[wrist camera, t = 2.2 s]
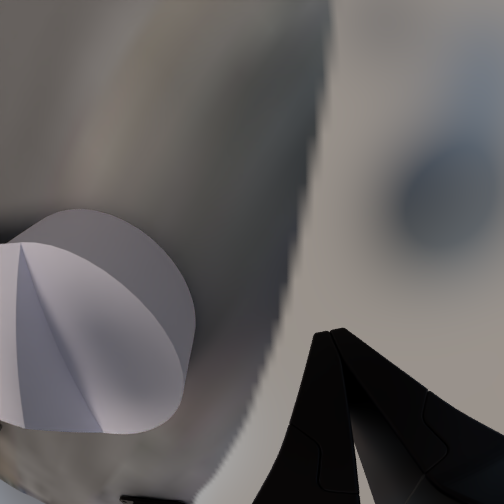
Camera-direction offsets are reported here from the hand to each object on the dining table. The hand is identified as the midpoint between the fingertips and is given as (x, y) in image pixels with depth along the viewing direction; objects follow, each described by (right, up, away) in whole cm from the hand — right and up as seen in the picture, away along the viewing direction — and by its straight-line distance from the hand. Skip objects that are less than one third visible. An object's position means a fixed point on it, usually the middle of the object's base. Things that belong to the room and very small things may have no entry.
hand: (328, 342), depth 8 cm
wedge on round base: (-11, 0, +4) cm, 12 cm away
